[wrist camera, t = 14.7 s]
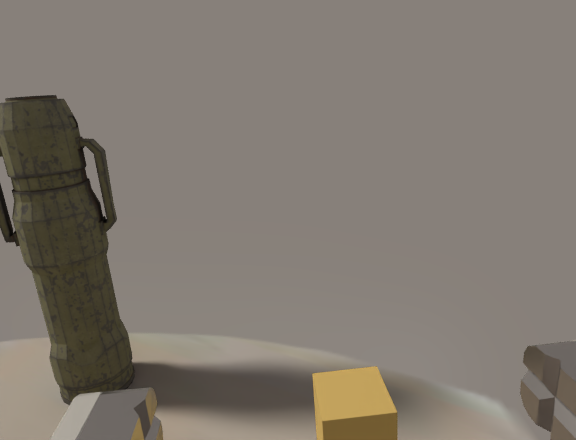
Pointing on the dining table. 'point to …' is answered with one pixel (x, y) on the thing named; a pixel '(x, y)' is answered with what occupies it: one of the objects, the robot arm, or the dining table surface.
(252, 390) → the dining table surface
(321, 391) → the yellow tall bar
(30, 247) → the thermos
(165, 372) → the dining table surface
